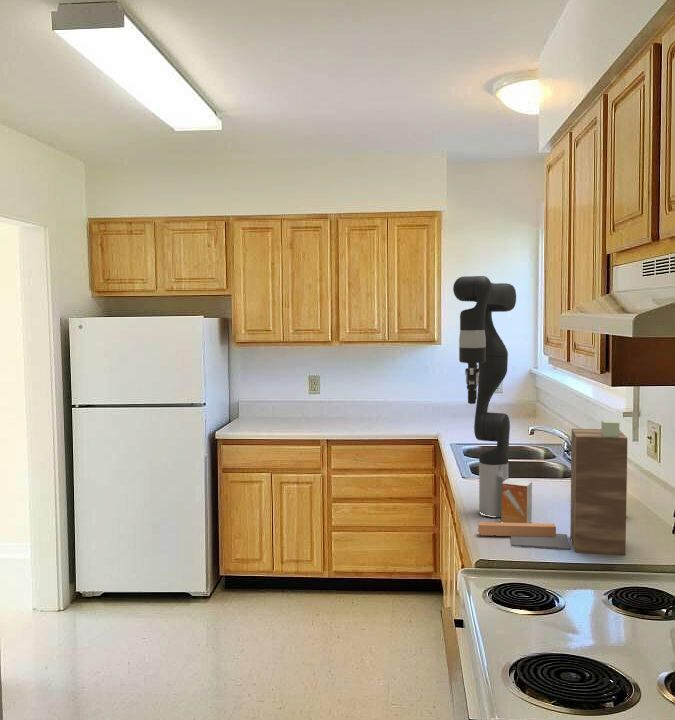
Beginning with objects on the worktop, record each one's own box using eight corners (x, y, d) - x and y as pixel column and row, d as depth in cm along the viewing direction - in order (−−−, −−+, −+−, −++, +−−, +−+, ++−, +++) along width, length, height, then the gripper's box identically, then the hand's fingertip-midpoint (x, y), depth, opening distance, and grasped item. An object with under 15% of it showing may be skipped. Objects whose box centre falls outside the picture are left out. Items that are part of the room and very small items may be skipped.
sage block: (601, 434, 196) (601, 420, 196) (616, 434, 195) (617, 420, 195) (603, 437, 192) (603, 422, 192) (619, 437, 191) (619, 422, 191)
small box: (500, 524, 222) (501, 482, 221) (506, 518, 227) (506, 478, 226) (527, 527, 218) (527, 485, 217) (532, 522, 223) (532, 481, 222)
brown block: (478, 535, 209) (478, 531, 212) (555, 536, 207) (553, 533, 210) (478, 525, 209) (478, 522, 212) (556, 526, 207) (554, 523, 210)
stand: (570, 536, 208) (571, 428, 206) (617, 539, 206) (619, 429, 203) (575, 552, 196) (576, 436, 193) (625, 555, 193) (627, 438, 191)
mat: (510, 533, 213) (510, 531, 213) (566, 536, 209) (566, 534, 209) (511, 546, 201) (511, 544, 201) (570, 550, 198) (570, 547, 197)
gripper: (485, 347, 198) (485, 405, 199) (486, 344, 211) (485, 398, 213) (457, 347, 199) (458, 405, 201) (460, 344, 213) (460, 398, 214)
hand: (472, 401), depth 207 cm, fingers open, 8 cm apart
